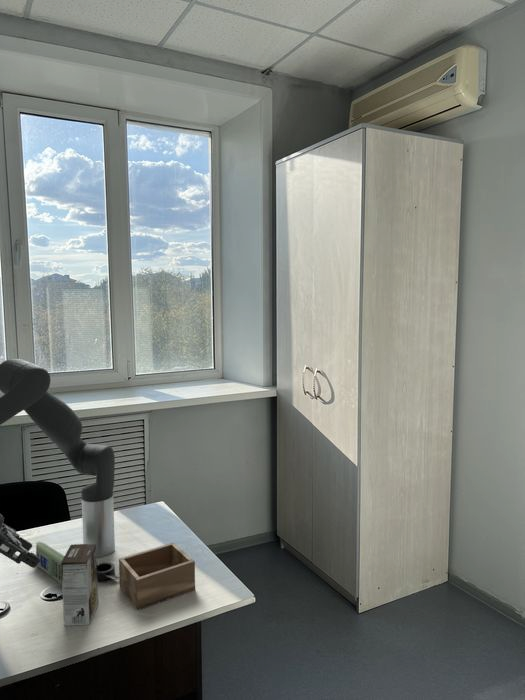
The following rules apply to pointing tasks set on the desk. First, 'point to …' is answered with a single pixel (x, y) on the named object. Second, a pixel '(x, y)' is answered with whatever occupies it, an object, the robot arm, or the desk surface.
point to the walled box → (156, 575)
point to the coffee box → (79, 584)
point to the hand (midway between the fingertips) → (33, 556)
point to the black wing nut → (106, 572)
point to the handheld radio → (49, 560)
